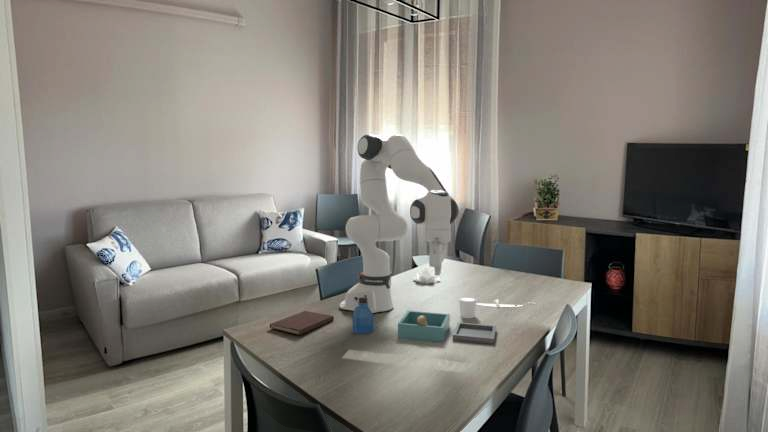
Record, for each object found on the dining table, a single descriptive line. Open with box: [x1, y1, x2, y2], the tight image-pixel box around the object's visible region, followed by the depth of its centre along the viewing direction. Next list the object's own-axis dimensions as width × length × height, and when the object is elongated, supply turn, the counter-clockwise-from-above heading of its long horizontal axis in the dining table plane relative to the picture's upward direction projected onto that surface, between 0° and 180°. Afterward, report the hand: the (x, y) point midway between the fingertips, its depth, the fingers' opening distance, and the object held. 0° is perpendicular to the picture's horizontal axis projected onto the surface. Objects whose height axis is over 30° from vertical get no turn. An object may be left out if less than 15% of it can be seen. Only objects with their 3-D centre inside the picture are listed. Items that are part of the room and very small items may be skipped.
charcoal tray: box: [452, 322, 497, 345], centre depth 183 cm, size 14×14×2 cm
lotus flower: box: [412, 267, 441, 285], centre depth 252 cm, size 14×15×9 cm
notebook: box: [269, 310, 335, 336], centre depth 196 cm, size 15×20×2 cm
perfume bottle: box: [352, 298, 374, 335], centre depth 187 cm, size 6×6×12 cm
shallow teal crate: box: [397, 310, 451, 343], centre depth 186 cm, size 16×16×5 cm
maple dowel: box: [417, 315, 428, 326], centre depth 183 cm, size 3×3×9 cm
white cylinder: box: [458, 296, 478, 319], centre depth 205 cm, size 7×7×7 cm
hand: (437, 274), depth 183 cm, fingers closed
